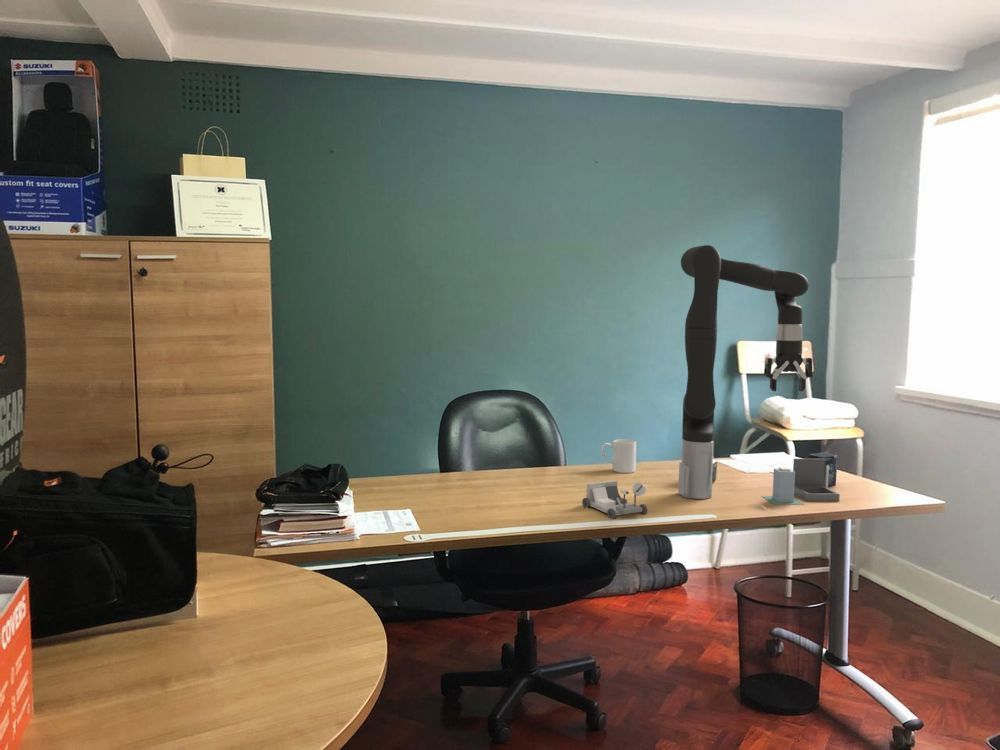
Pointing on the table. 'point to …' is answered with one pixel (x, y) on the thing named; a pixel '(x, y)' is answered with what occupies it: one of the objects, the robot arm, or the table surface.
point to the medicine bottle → (714, 469)
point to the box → (829, 461)
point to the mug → (623, 455)
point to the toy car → (613, 498)
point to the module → (783, 484)
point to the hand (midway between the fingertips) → (787, 391)
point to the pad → (782, 502)
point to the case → (812, 480)
